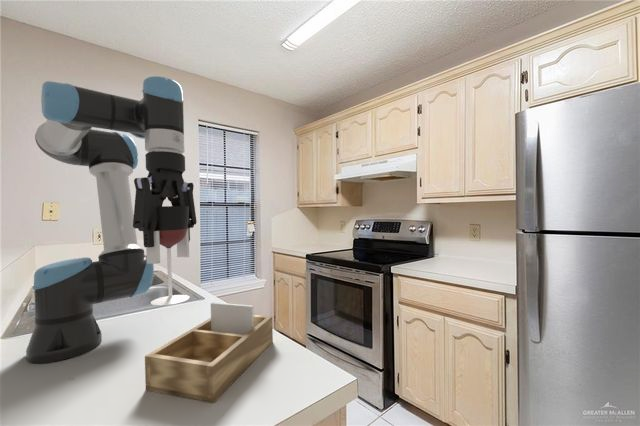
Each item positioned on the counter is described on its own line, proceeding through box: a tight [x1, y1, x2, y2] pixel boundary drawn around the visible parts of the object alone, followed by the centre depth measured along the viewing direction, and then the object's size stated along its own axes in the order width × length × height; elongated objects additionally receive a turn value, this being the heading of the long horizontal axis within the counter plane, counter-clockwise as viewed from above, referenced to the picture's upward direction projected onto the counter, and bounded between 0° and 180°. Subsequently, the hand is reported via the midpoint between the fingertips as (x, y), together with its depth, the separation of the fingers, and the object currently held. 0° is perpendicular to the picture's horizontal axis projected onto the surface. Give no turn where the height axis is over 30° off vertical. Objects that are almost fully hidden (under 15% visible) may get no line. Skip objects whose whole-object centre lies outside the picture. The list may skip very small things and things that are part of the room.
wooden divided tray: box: [144, 314, 274, 404], centre depth 70 cm, size 16×26×7 cm, turn 164°
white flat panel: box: [210, 301, 255, 335], centre depth 76 cm, size 12×1×11 cm, turn 74°
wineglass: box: [150, 205, 190, 306], centre depth 63 cm, size 8×9×20 cm
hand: (169, 259), depth 63 cm, fingers closed on wineglass, 7 cm apart
